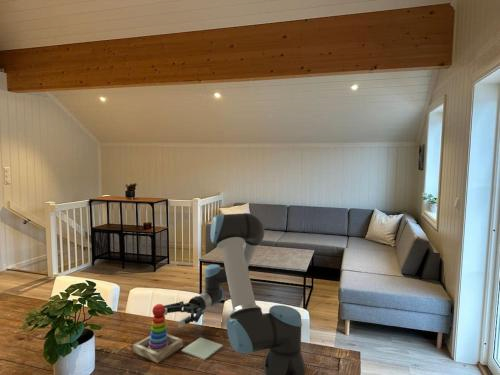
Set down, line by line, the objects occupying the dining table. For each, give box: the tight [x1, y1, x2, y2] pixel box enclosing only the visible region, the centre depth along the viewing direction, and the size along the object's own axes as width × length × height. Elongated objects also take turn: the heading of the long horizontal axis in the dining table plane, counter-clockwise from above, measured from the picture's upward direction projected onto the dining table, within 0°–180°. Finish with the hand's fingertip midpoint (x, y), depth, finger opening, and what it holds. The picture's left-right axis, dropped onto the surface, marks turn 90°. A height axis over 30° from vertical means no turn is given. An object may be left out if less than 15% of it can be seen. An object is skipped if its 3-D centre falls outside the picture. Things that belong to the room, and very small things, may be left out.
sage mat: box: [180, 337, 224, 361], centre depth 141 cm, size 12×12×1 cm
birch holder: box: [132, 333, 184, 363], centre depth 141 cm, size 14×14×3 cm
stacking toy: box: [147, 303, 169, 352], centre depth 140 cm, size 8×8×19 cm
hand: (166, 320), depth 145 cm, fingers open, 13 cm apart
